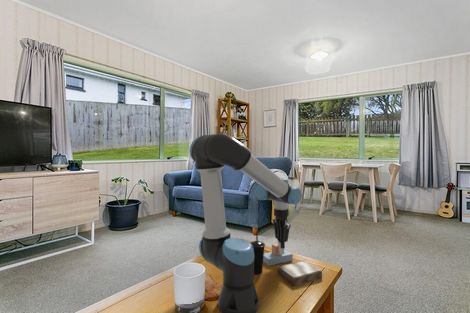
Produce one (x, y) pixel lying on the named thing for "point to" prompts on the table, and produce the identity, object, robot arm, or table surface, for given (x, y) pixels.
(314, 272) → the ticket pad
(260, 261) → the black tall container
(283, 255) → the blue base with cube
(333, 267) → the table surface
